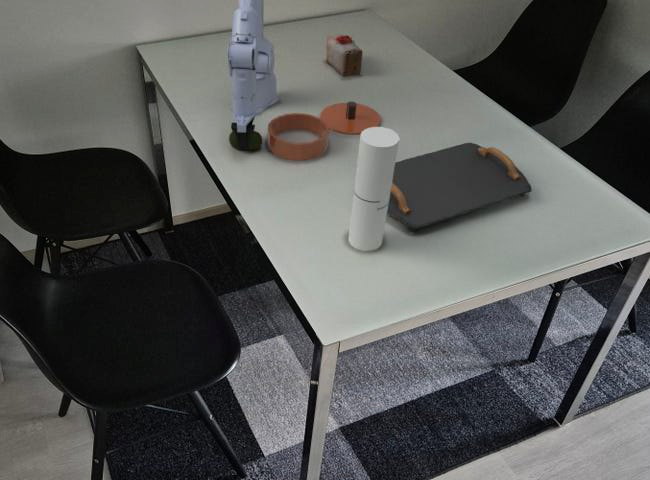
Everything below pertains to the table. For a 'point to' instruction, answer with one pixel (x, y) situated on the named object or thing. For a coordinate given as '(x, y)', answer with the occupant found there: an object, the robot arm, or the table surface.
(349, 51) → the food item
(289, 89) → the table surface
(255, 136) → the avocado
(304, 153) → the pot
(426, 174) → the serving tray
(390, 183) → the cylindrical container
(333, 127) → the lid
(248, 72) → the robot arm
